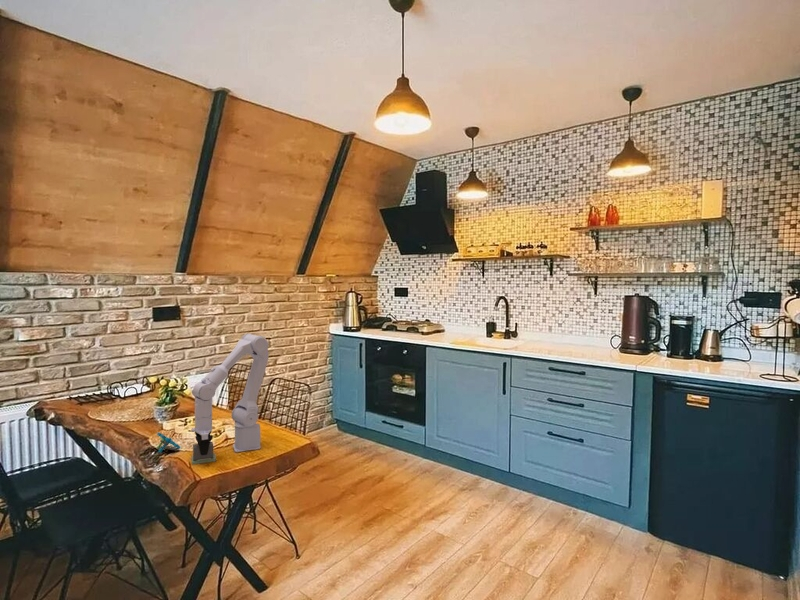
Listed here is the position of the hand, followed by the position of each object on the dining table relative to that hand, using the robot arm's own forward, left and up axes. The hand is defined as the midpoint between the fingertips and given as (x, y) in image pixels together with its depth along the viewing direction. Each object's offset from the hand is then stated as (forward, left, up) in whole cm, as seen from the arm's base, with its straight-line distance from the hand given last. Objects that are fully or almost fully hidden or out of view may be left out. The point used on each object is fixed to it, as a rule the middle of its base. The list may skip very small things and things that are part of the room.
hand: (203, 452), depth 167 cm
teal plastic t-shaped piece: (+12, -15, -3) cm, 19 cm away
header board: (0, 0, -3) cm, 3 cm away
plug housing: (0, 0, -2) cm, 2 cm away
